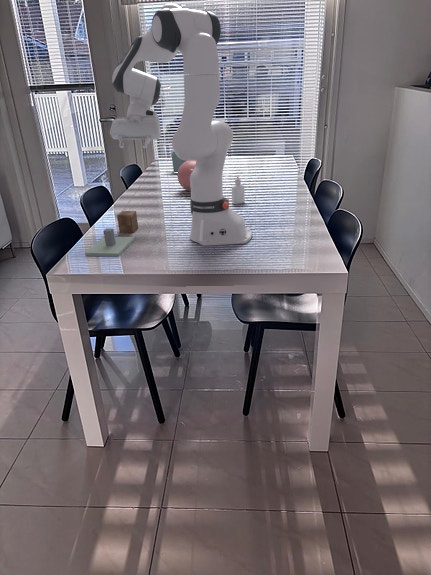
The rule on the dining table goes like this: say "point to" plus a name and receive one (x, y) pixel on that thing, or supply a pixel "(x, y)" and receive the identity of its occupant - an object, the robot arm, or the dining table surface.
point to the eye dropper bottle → (238, 192)
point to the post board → (109, 249)
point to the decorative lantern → (186, 174)
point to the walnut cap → (127, 221)
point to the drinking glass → (176, 162)
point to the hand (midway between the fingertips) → (132, 147)
